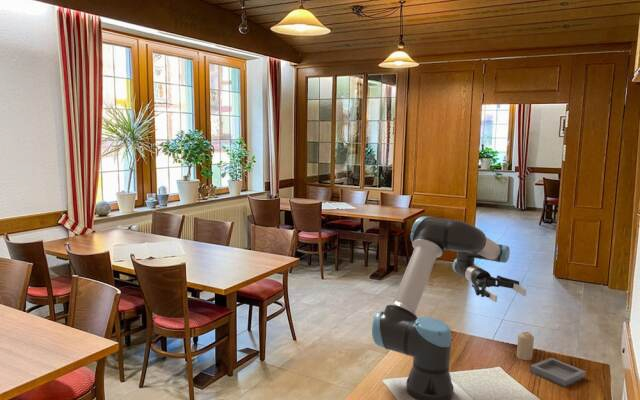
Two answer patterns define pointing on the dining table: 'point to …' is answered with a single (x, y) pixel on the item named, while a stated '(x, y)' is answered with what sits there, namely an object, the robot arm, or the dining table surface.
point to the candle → (525, 346)
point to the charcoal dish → (557, 372)
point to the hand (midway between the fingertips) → (510, 295)
